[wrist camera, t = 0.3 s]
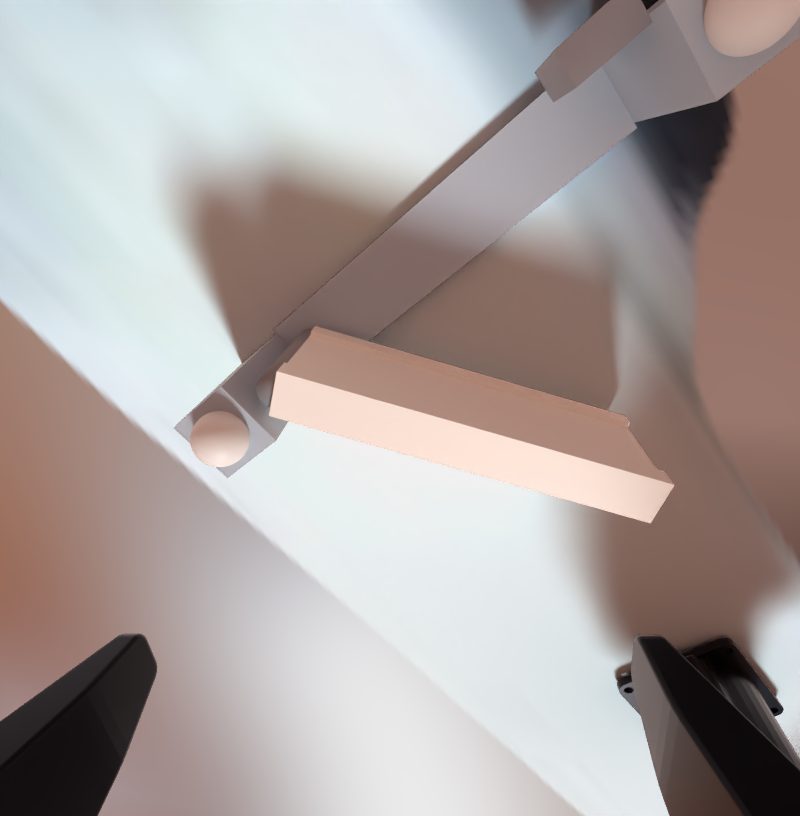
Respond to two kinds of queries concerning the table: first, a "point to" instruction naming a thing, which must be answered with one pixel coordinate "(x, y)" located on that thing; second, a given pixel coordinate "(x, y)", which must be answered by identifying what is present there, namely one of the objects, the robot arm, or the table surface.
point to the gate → (463, 421)
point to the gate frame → (512, 179)
